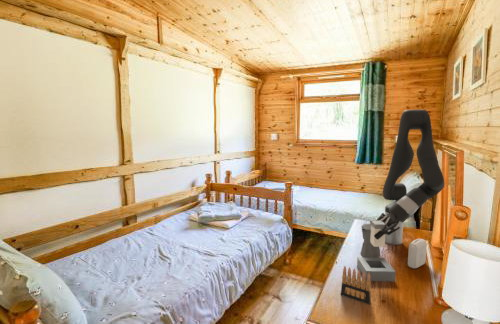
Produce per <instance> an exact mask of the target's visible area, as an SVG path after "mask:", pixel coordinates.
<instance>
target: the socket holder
mask: <svg viewBox="0 0 500 324" xmlns="http://www.w3.org/2000/svg"><path fill="white" fill-rule="evenodd" d="M356 267H357V269H358V270H360V274H361V275H362V274H363V272H365V279H366V282H367V275H368V273H370V282H395V283H396V270H395V269H394V268H393V266H391V264H390V263H389V262H388V261H387V259H386V258H385V257H379V258H365V257H363V256H362V257H360V256H359V257H357V259H356Z"/></svg>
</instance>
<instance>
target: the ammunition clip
mask: <svg viewBox="0 0 500 324" xmlns="http://www.w3.org/2000/svg"><path fill="white" fill-rule="evenodd" d="M341 279H342V280H341V290H340V296H343V297H346V298H350V299H352V300H356V301H358V302H361V303H364V304H367V305H370V304H371V303H372V302H371V301H372V296H371V294H372V293H371V291H372V289H371V288H372V287H371V286H372V281H370V273H368V275H367V281H366V279H365V272H363V274H361V272H360V270H359V269H358V271H357V272H356V269H355V268H353V270H351V267H350V266H349V267H348V271H347V267H346V265H344V266H343V269H342V276H341Z"/></svg>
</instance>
